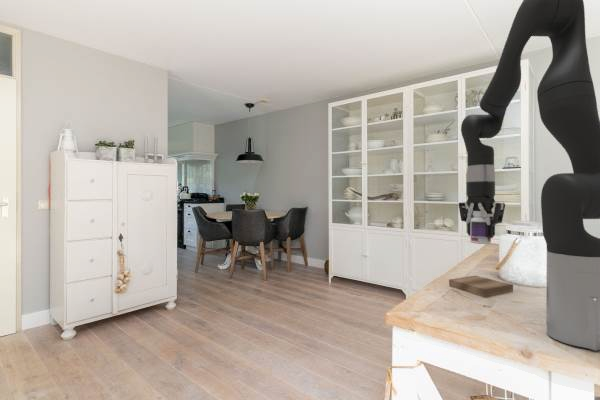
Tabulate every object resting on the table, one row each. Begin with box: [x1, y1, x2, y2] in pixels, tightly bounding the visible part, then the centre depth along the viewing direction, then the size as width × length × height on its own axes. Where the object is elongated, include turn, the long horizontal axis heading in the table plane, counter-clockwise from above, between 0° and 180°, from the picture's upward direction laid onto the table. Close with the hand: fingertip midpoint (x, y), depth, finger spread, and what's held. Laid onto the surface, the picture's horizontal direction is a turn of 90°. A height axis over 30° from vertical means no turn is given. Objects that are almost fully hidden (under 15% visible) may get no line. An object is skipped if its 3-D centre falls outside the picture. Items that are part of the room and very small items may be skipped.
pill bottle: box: [469, 211, 492, 245], centre depth 95 cm, size 5×5×10 cm
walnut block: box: [448, 275, 514, 299], centre depth 96 cm, size 12×12×3 cm
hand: (480, 236), depth 95 cm, fingers closed on pill bottle, 5 cm apart
